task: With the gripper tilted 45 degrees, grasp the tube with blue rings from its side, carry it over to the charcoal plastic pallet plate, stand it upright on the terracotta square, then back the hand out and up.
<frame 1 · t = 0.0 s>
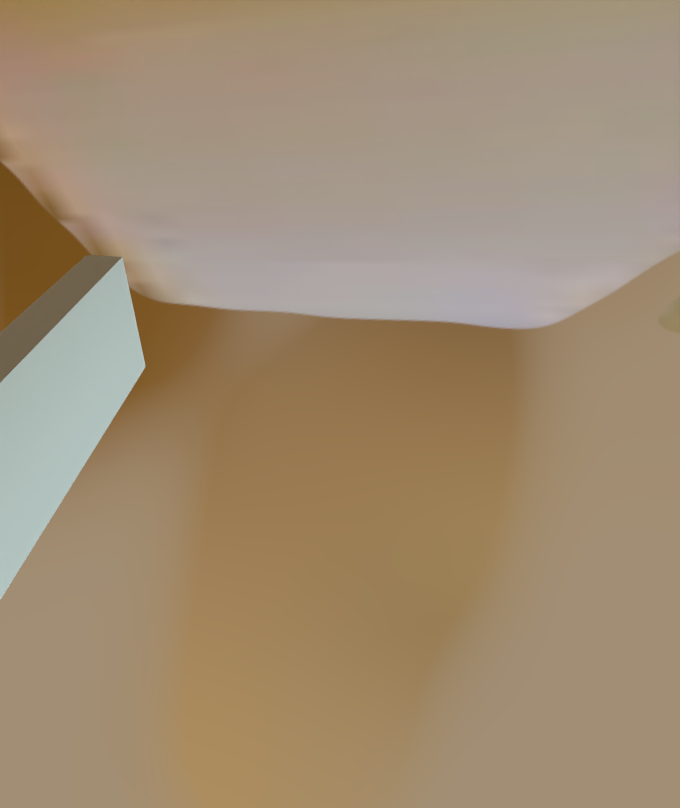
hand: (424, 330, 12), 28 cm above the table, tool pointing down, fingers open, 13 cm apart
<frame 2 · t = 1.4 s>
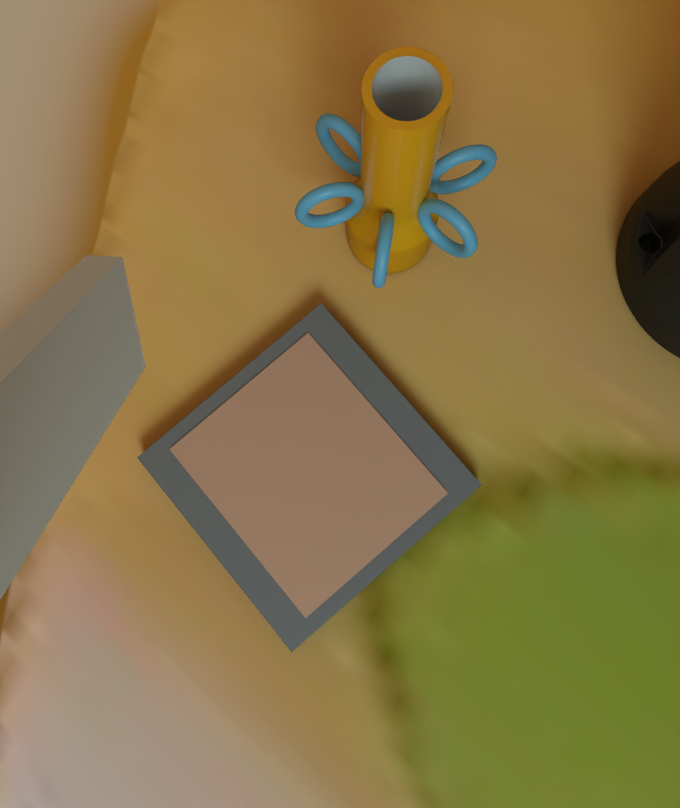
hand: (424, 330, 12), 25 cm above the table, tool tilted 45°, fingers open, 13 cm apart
pallet: (308, 471, 37), on the table
tube with blue rings: (388, 236, 39), on the table
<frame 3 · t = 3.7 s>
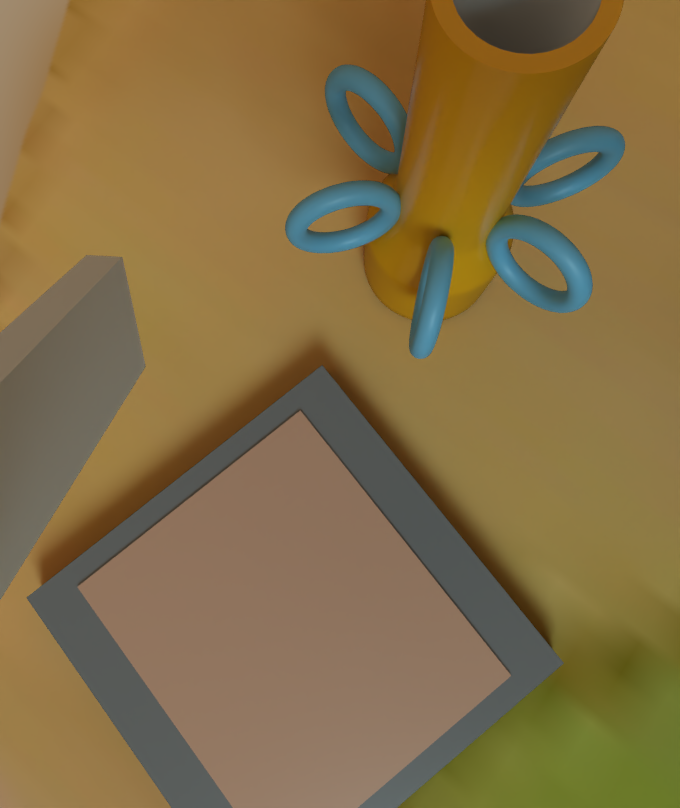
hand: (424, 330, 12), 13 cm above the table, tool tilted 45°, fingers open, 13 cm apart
pallet: (293, 622, 24), on the table
tube with blue rings: (425, 265, 26), on the table
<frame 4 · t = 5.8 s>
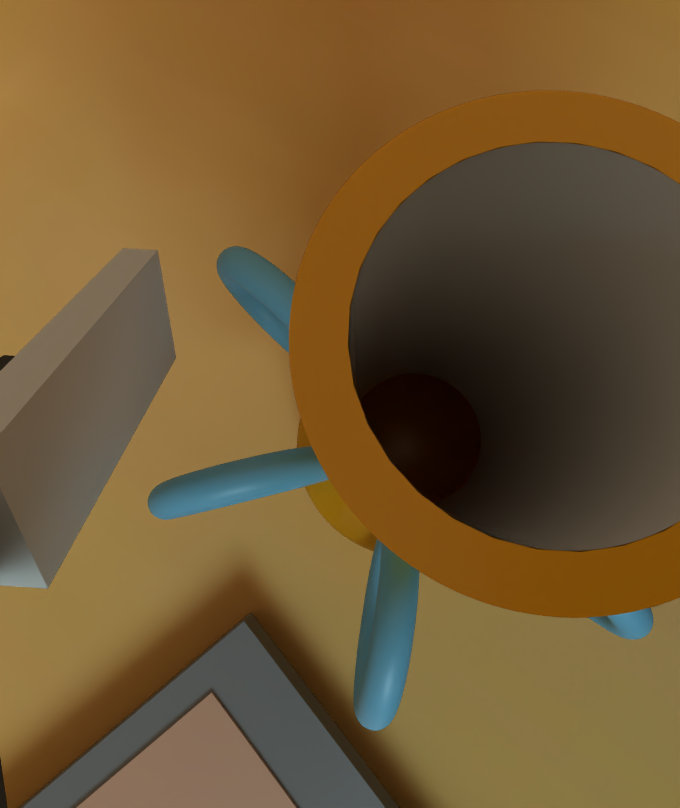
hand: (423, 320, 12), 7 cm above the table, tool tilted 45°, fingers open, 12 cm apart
tube with blue rings: (392, 454, 19), on the table, touching gripper
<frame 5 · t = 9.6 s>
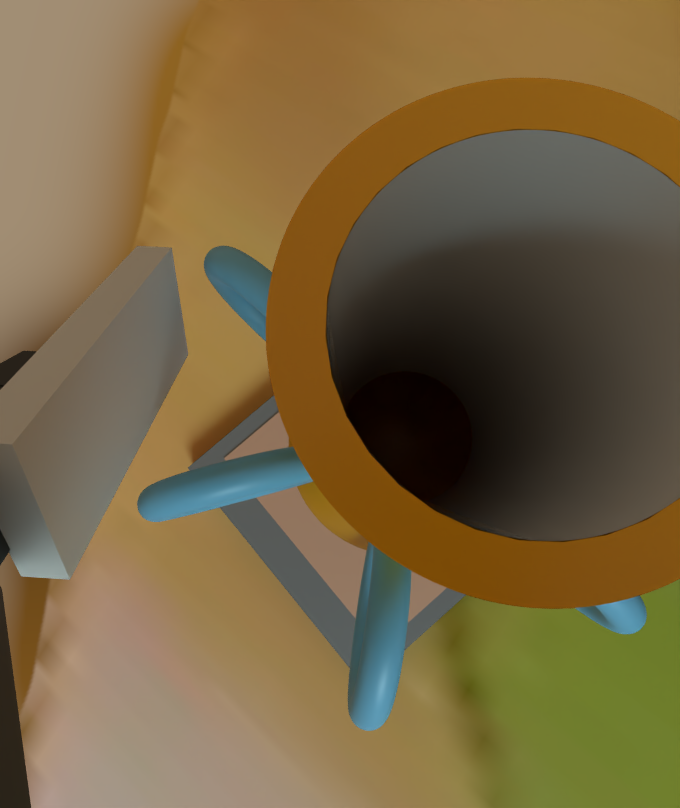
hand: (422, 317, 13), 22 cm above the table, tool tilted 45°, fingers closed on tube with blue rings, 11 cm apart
pallet: (377, 482, 34), on the table
tube with blue rings: (385, 453, 19), point 15 cm above the table, touching gripper
when the fingers open (9 cm above the table, at t = 13.1 s): tube with blue rings drops 1 cm, resting on pallet.
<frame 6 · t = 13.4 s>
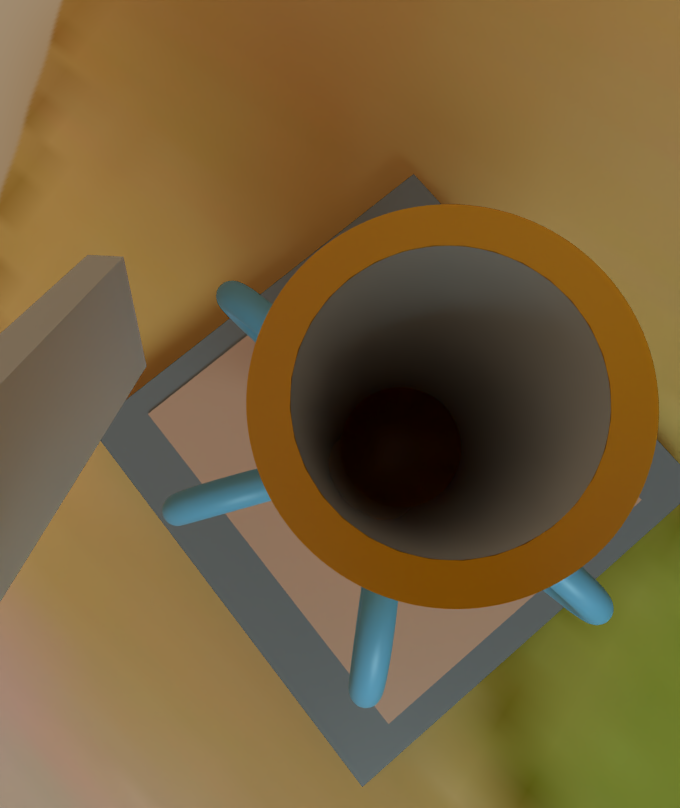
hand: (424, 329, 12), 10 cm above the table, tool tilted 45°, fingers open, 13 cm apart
pallet: (387, 457, 22), on the table
tube with blue rings: (390, 456, 20), point 1 cm above the table, touching pallet
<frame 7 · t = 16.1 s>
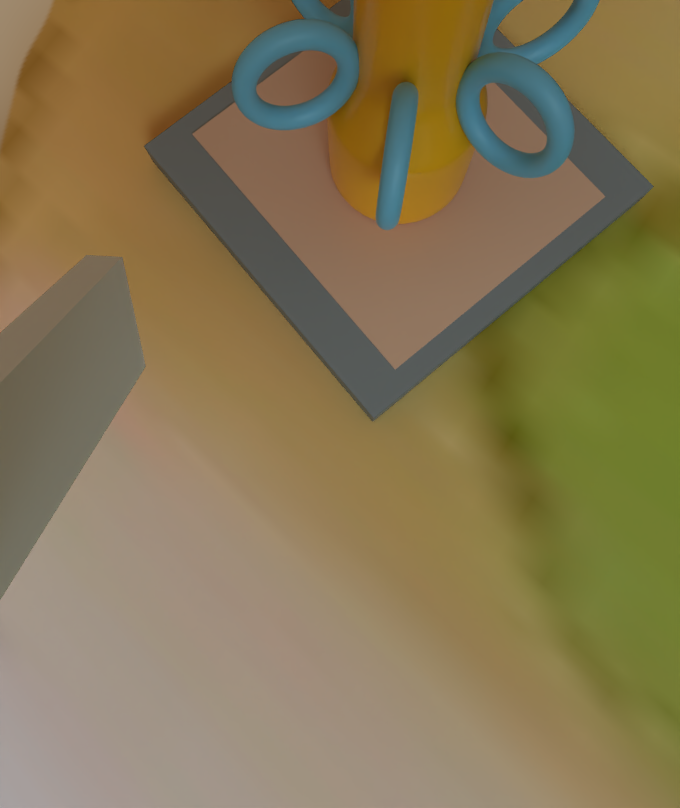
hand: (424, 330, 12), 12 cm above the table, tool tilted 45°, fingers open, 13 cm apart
pallet: (393, 180, 26), on the table
tube with blue rings: (396, 167, 25), point 1 cm above the table, touching pallet
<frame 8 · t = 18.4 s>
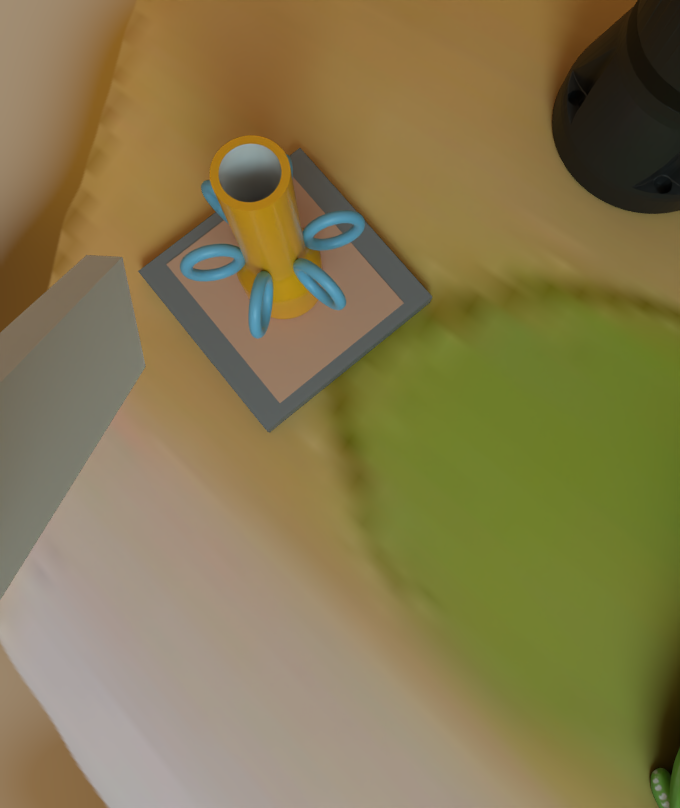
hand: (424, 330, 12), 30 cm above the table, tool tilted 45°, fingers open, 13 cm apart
pallet: (285, 289, 43), on the table
tube with blue rings: (284, 284, 42), point 1 cm above the table, touching pallet
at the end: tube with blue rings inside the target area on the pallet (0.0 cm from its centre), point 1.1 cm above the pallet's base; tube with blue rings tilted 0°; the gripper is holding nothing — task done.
